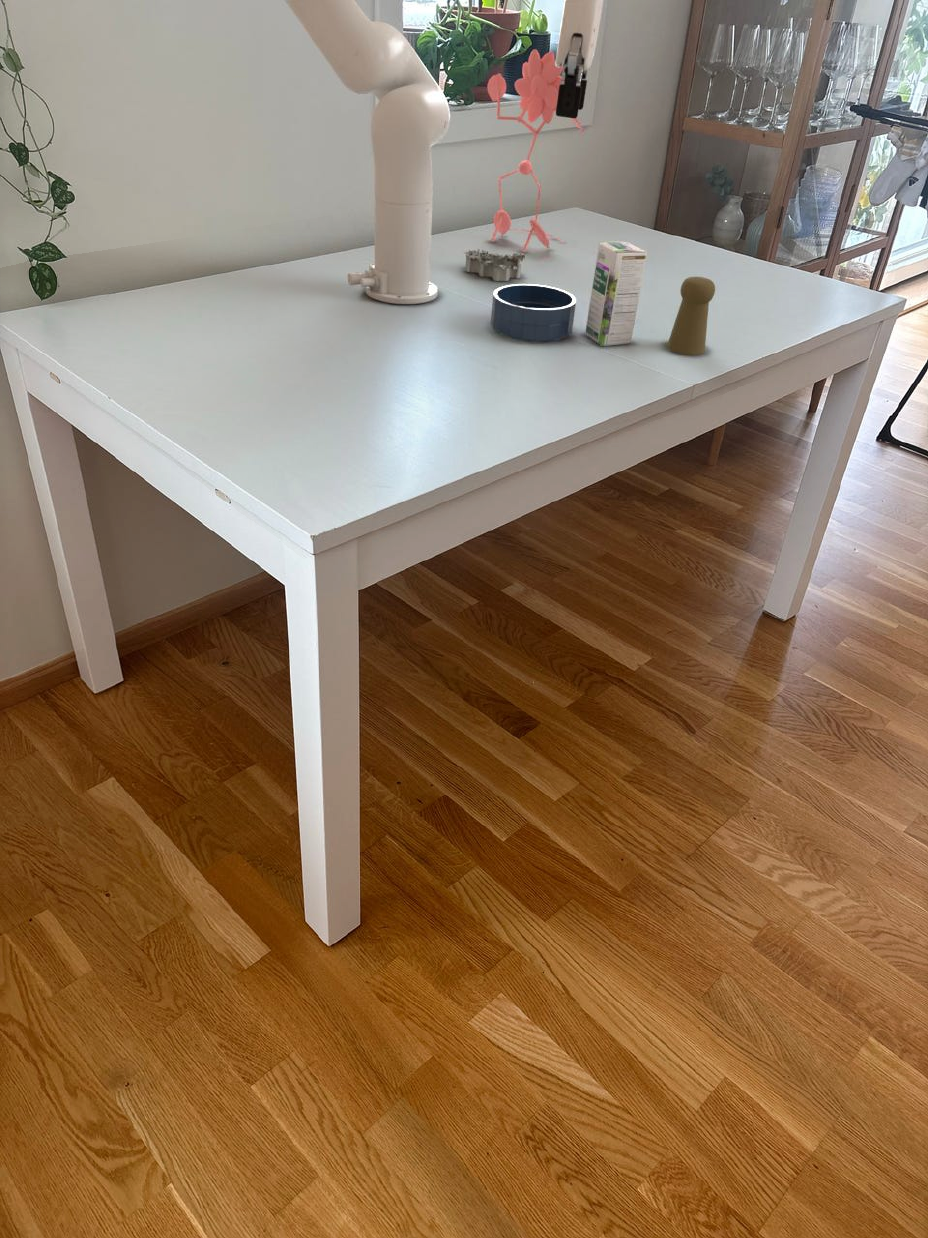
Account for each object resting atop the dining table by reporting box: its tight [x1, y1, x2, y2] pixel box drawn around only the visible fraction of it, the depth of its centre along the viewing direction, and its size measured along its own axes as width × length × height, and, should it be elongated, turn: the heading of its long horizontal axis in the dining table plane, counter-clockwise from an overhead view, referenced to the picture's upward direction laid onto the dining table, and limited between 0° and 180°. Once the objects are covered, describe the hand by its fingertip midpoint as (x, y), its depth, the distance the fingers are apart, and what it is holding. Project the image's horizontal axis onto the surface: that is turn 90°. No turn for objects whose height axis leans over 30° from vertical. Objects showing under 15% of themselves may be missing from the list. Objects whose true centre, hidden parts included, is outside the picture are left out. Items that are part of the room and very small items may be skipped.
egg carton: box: [462, 248, 526, 282], centre depth 177 cm, size 11×8×4 cm
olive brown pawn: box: [666, 276, 716, 356], centre depth 147 cm, size 6×6×11 cm
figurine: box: [486, 48, 585, 259], centre depth 188 cm, size 15×26×35 cm, turn 44°
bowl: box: [490, 283, 577, 343], centre depth 151 cm, size 13×13×6 cm
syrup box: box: [584, 240, 648, 347], centre depth 147 cm, size 6×6×14 cm
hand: (569, 112), depth 141 cm, fingers open, 9 cm apart
